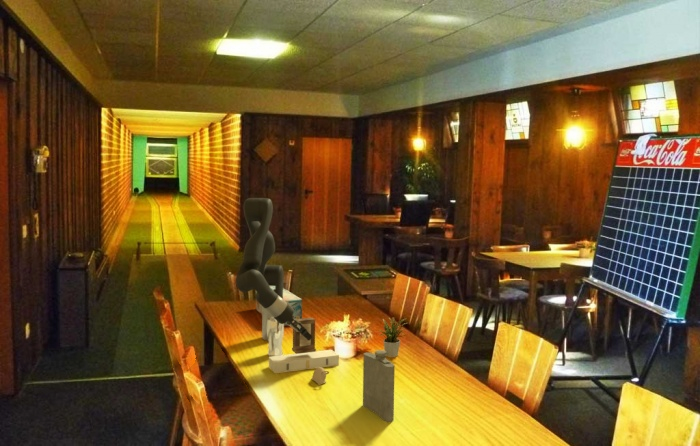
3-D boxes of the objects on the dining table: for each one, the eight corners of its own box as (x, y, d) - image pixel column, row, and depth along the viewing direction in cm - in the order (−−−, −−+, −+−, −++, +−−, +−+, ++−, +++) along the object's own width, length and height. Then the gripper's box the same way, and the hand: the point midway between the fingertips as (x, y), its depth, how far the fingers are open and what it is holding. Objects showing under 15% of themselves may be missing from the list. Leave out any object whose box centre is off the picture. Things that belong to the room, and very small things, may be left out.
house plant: (416, 353, 266) (417, 314, 264) (405, 362, 254) (406, 322, 252) (385, 348, 272) (385, 311, 270) (372, 357, 259) (373, 318, 258)
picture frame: (296, 353, 243) (296, 321, 242) (291, 350, 247) (292, 318, 246) (315, 351, 246) (316, 319, 245) (311, 348, 251) (311, 317, 249)
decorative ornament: (320, 377, 234) (320, 363, 234) (330, 385, 227) (330, 370, 226) (310, 379, 232) (310, 365, 232) (320, 386, 225) (320, 372, 225)
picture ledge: (275, 373, 238) (275, 363, 238) (268, 366, 246) (268, 356, 245) (338, 365, 249) (339, 355, 248) (331, 359, 256) (331, 349, 256)
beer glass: (280, 357, 258) (280, 321, 256) (264, 356, 259) (264, 320, 257) (285, 352, 264) (286, 317, 263) (269, 351, 266) (269, 316, 264)
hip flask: (361, 405, 209) (361, 345, 207) (371, 402, 210) (372, 344, 209) (386, 422, 195) (388, 359, 193) (397, 420, 197) (399, 357, 195)
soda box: (303, 325, 310) (303, 299, 308) (275, 327, 304) (275, 301, 303) (279, 307, 347) (279, 284, 346) (254, 309, 341) (254, 285, 340)
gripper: (291, 305, 235) (322, 334, 242) (280, 298, 248) (309, 325, 254) (277, 320, 234) (308, 349, 240) (267, 312, 247) (296, 340, 253)
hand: (308, 337), depth 247 cm, fingers closed on picture frame, 3 cm apart
